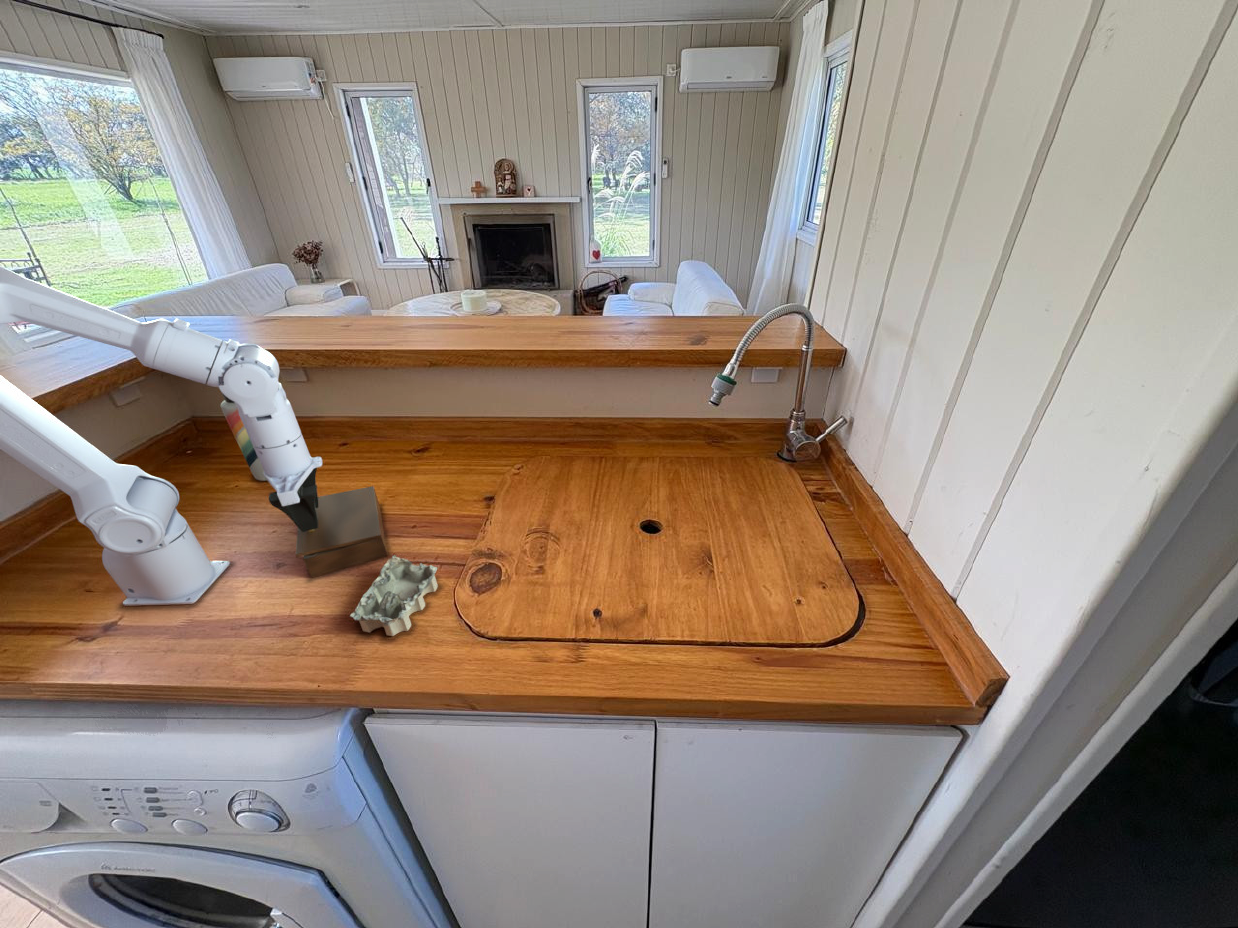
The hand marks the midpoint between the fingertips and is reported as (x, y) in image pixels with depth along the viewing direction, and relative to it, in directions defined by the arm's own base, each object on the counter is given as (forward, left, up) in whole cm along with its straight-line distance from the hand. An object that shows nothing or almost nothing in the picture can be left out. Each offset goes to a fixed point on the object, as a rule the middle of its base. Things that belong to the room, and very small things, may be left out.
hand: (310, 518), depth 74 cm
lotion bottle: (-20, +22, -6) cm, 30 cm away
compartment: (+3, +2, -6) cm, 7 cm away
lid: (+3, +1, -2) cm, 4 cm away
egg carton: (+16, -12, -6) cm, 21 cm away
